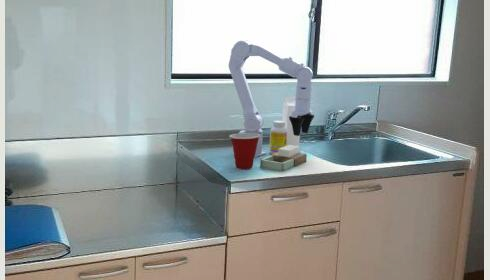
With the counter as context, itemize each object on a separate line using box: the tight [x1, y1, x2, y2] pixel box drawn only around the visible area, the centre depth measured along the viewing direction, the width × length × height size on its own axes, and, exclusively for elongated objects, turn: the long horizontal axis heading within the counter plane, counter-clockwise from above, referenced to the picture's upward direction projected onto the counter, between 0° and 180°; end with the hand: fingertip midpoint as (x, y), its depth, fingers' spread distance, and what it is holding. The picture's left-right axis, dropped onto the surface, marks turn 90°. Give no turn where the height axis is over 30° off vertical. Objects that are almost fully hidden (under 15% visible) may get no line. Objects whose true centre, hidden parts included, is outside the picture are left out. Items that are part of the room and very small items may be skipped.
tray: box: [259, 154, 295, 172], centre depth 193 cm, size 9×9×3 cm
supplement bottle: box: [269, 120, 287, 155], centre depth 214 cm, size 7×7×13 cm
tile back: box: [285, 145, 301, 155], centre depth 202 cm, size 4×4×2 cm
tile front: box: [278, 147, 295, 157], centre depth 198 cm, size 4×4×2 cm
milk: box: [281, 96, 301, 146], centre depth 220 cm, size 6×6×22 cm
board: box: [270, 152, 308, 168], centre depth 201 cm, size 10×10×3 cm
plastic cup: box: [229, 132, 260, 171], centre depth 189 cm, size 11×11×12 cm
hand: (300, 134), depth 207 cm, fingers open, 7 cm apart
